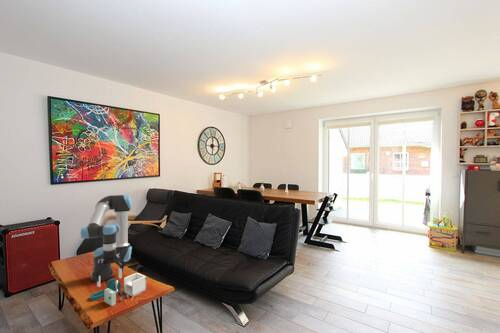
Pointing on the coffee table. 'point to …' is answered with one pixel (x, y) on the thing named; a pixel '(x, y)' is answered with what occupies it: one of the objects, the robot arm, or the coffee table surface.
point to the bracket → (101, 293)
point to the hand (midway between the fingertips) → (109, 281)
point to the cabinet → (134, 284)
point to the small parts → (120, 291)
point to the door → (110, 296)
